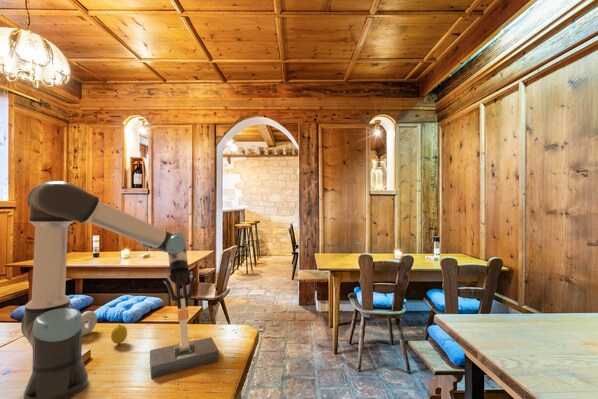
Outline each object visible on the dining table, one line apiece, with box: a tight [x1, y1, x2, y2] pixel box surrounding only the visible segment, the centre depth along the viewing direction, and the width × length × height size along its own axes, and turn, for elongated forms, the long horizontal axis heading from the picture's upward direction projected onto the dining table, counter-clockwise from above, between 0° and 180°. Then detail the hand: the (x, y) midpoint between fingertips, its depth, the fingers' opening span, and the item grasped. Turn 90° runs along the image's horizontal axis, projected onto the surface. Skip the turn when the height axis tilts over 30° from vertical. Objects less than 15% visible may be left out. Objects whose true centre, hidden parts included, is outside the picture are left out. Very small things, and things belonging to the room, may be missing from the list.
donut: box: [81, 310, 98, 337], centre depth 127 cm, size 10×4×10 cm, turn 175°
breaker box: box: [149, 336, 220, 379], centre depth 106 cm, size 22×12×6 cm, turn 119°
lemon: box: [110, 324, 128, 345], centre depth 119 cm, size 6×6×8 cm
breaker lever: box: [176, 309, 190, 351], centre depth 109 cm, size 4×3×14 cm
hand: (183, 315), depth 113 cm, fingers closed
